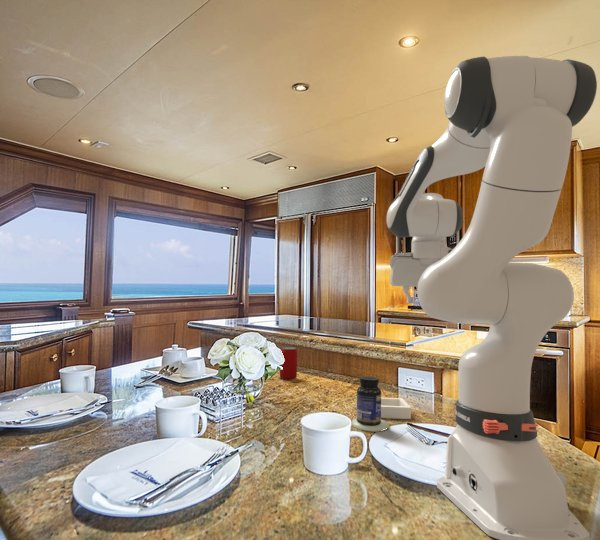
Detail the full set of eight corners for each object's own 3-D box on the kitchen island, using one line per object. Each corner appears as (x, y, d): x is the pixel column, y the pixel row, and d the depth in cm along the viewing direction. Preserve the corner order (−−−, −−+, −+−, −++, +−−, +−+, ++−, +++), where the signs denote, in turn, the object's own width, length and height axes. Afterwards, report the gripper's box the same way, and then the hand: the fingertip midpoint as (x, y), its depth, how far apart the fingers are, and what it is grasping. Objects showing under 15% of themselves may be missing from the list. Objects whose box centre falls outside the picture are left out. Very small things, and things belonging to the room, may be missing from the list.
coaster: (391, 432, 94) (391, 429, 94) (354, 431, 94) (354, 427, 94) (384, 420, 103) (384, 417, 103) (350, 419, 103) (350, 416, 103)
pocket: (410, 419, 105) (411, 407, 105) (373, 417, 105) (373, 406, 106) (402, 408, 115) (402, 398, 115) (368, 407, 115) (368, 396, 116)
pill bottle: (380, 427, 95) (381, 381, 96) (355, 425, 96) (356, 379, 97) (380, 419, 101) (381, 376, 102) (357, 417, 102) (357, 375, 103)
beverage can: (289, 376, 158) (290, 346, 159) (300, 379, 153) (301, 348, 153) (276, 378, 154) (277, 347, 154) (286, 381, 148) (287, 349, 149)
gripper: (392, 251, 104) (391, 302, 103) (469, 253, 104) (469, 305, 103) (387, 253, 111) (387, 302, 110) (460, 255, 110) (460, 304, 109)
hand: (427, 304), depth 106 cm, fingers open, 8 cm apart
